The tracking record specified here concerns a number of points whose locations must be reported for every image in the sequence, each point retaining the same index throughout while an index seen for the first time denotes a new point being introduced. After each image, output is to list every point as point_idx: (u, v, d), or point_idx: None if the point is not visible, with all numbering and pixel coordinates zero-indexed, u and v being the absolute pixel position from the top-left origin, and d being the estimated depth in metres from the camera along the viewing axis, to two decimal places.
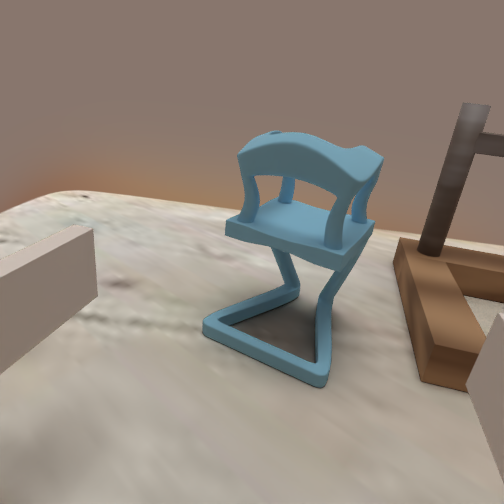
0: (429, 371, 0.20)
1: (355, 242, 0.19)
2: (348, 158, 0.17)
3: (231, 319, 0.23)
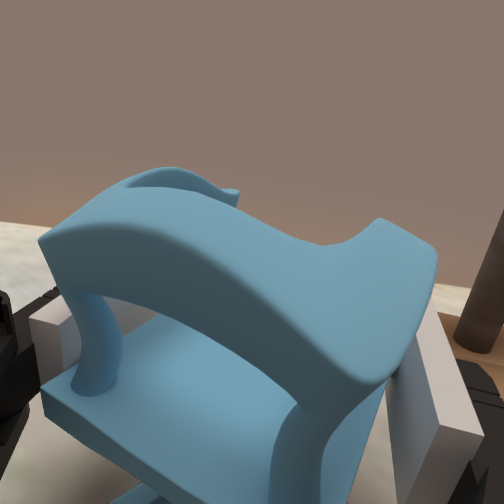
0: None
1: (357, 461, 0.07)
2: (336, 287, 0.05)
3: None
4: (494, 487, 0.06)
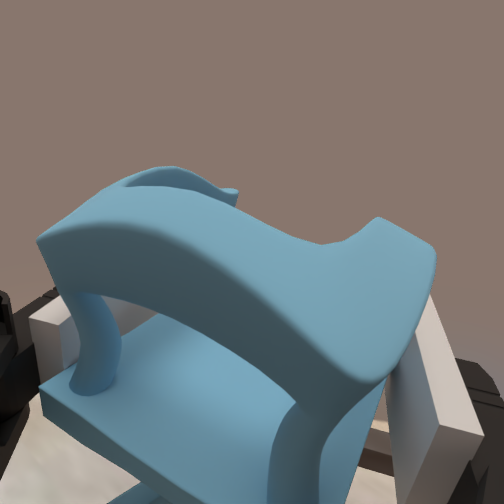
0: None
1: (356, 460, 0.07)
2: (334, 286, 0.05)
3: None
4: (494, 487, 0.06)
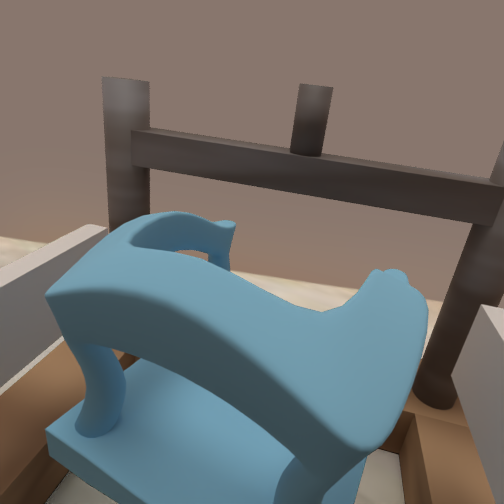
0: None
1: (353, 497, 0.08)
2: (335, 355, 0.05)
3: None
4: None
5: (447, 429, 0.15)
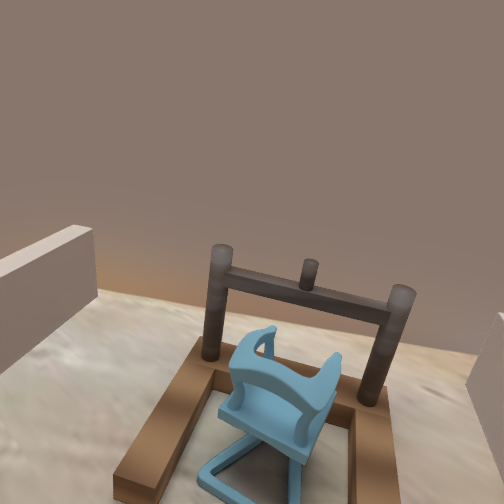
0: (116, 492, 0.26)
1: (318, 430, 0.25)
2: (312, 389, 0.22)
3: (220, 466, 0.29)
4: None
5: (369, 416, 0.33)
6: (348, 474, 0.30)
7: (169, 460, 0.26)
